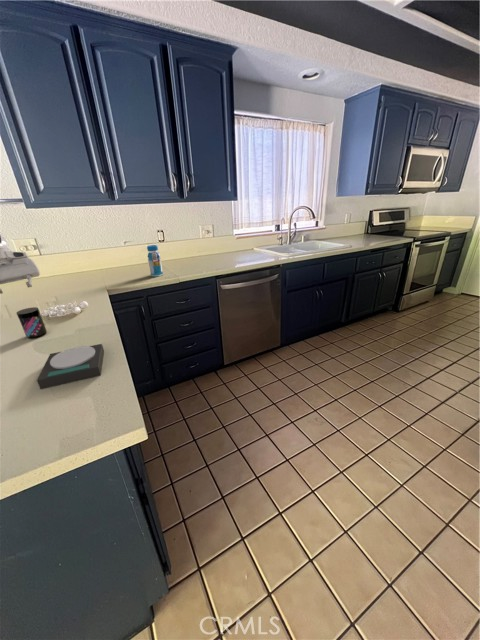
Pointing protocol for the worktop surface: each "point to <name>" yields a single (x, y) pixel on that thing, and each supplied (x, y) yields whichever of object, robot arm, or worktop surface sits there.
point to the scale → (71, 365)
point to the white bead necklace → (62, 309)
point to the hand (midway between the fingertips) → (15, 289)
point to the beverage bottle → (154, 261)
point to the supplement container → (32, 322)
